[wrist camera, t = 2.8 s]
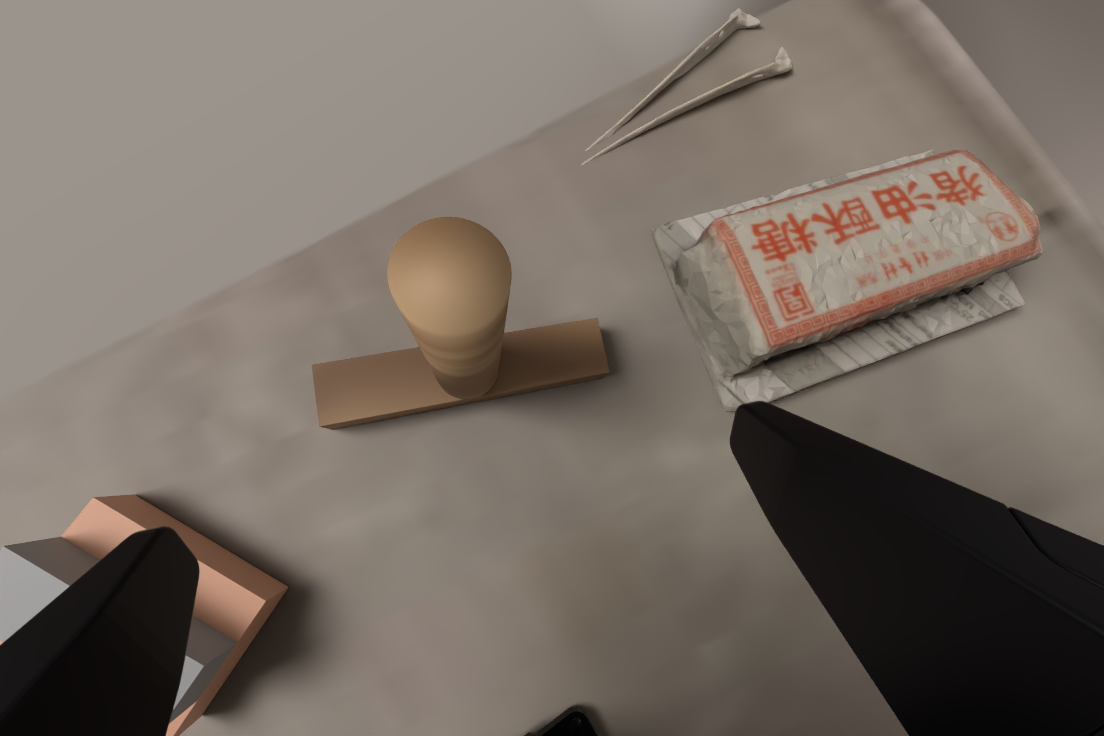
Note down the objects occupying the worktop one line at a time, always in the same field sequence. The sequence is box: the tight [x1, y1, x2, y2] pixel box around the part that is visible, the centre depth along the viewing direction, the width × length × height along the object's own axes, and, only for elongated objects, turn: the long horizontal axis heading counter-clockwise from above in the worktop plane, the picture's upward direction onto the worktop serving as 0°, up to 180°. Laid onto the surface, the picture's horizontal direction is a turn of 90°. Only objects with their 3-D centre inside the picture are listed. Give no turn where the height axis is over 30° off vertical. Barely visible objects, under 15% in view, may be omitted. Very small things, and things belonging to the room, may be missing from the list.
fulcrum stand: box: [0, 495, 288, 736], centre depth 16 cm, size 7×5×4 cm
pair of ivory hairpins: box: [580, 8, 792, 166], centre depth 26 cm, size 18×5×2 cm, turn 129°
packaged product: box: [652, 149, 1044, 412], centre depth 23 cm, size 18×5×10 cm
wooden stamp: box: [312, 217, 610, 430], centre depth 16 cm, size 3×12×12 cm, turn 102°
